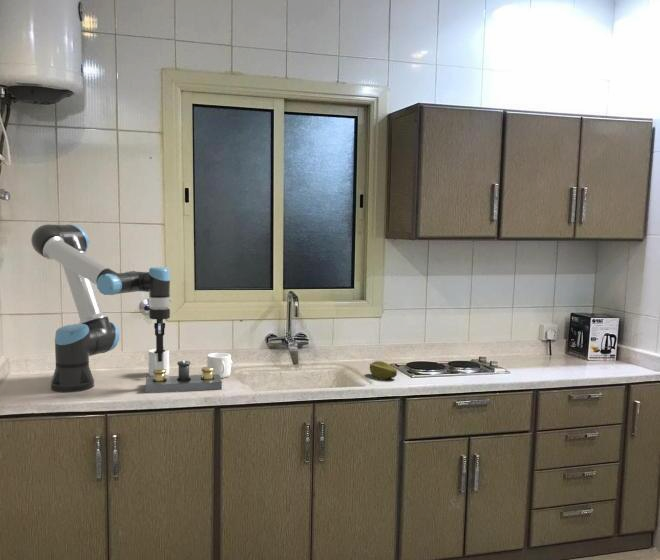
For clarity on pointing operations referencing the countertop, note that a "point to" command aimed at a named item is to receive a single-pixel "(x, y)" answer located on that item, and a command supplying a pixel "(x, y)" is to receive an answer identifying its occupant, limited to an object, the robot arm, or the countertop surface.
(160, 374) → the knob near
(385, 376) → the fruit
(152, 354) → the mug
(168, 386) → the mount plate
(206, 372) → the knob far
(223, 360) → the mug
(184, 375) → the knob mid
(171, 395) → the countertop surface
